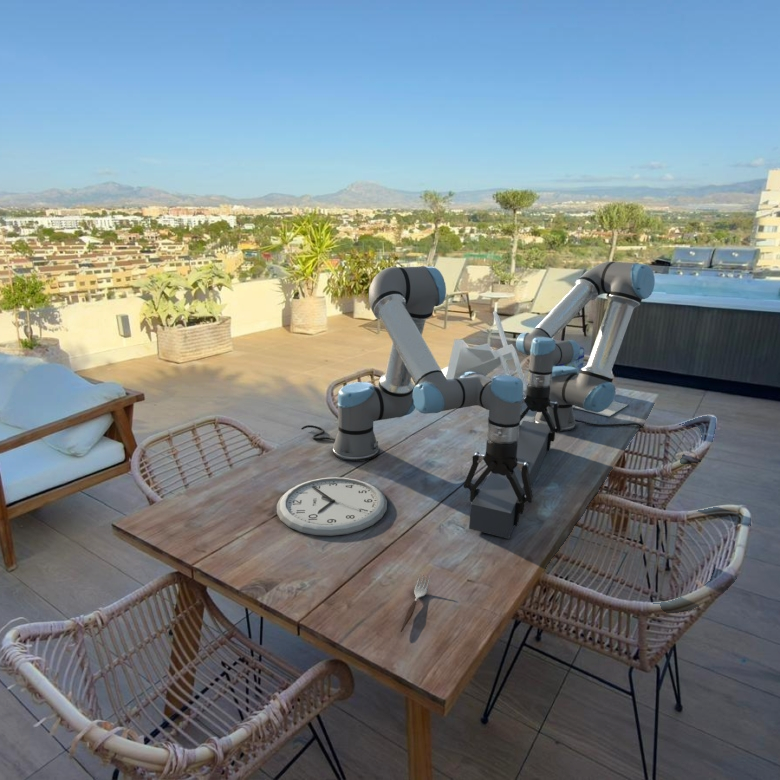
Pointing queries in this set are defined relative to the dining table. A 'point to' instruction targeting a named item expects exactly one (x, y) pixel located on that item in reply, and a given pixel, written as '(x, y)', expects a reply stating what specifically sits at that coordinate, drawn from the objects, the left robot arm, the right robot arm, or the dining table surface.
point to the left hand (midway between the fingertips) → (495, 518)
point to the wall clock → (331, 506)
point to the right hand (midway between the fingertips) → (532, 446)
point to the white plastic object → (482, 358)
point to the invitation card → (608, 409)
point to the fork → (418, 593)
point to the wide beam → (508, 484)
